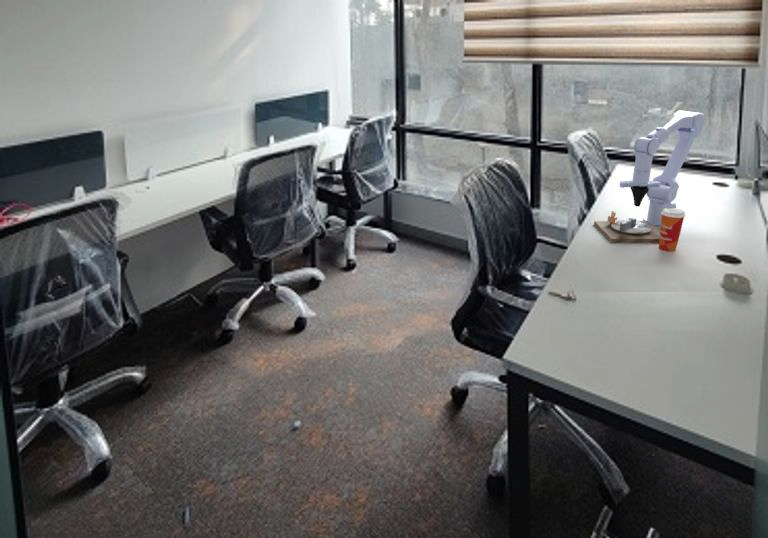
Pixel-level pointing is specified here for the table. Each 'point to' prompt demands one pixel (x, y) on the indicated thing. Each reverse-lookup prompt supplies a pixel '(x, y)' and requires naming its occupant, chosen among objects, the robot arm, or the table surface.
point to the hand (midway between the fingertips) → (636, 205)
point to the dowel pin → (612, 215)
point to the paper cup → (670, 228)
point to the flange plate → (634, 229)
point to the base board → (627, 238)
